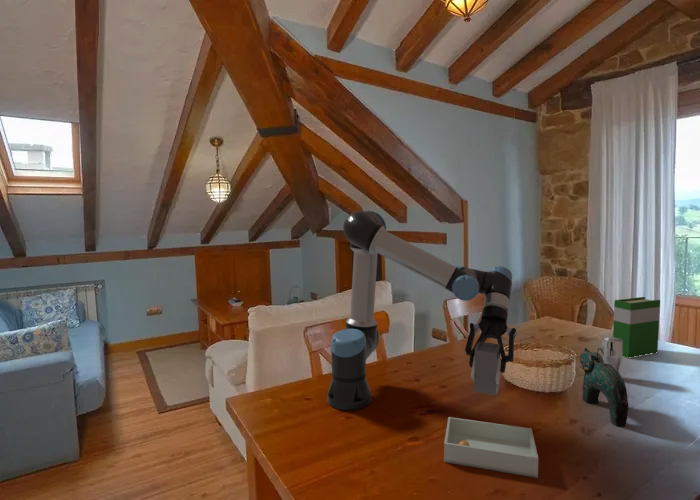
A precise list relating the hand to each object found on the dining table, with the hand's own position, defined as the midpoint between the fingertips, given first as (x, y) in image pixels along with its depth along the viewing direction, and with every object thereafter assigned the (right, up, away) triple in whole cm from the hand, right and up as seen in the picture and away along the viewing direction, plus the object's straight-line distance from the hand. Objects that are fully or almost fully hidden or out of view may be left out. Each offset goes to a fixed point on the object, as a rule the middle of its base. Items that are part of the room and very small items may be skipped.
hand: (484, 379), depth 114 cm
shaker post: (+2, -4, +3) cm, 5 cm away
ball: (-9, -16, -9) cm, 20 cm away
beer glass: (+61, -12, +39) cm, 74 cm away
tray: (-1, -17, -7) cm, 19 cm away
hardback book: (+88, -9, +65) cm, 110 cm away
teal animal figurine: (+42, -15, +14) cm, 47 cm away
